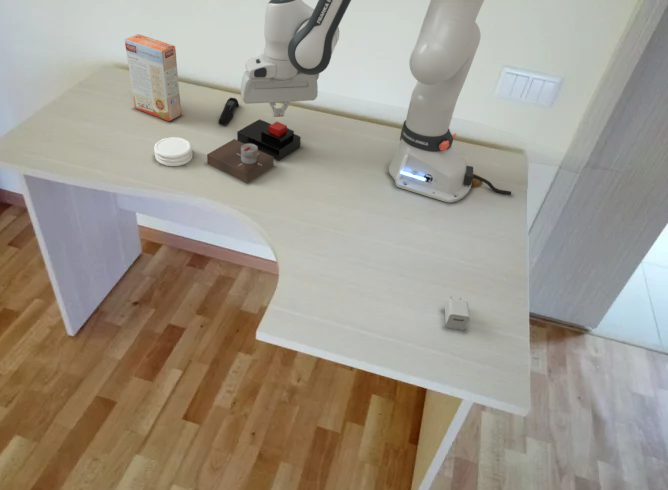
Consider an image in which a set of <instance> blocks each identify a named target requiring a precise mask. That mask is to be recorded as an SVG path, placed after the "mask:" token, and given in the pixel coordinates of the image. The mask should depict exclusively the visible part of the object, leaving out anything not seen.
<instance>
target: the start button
mask: <svg viewBox="0 0 668 490" xmlns="http://www.w3.org/2000/svg"><path fill="white" fill-rule="evenodd" d="M271 124H272V125H270V126H269V132H270V133H272V134H274V135H276V136H281V135H283V134H284V133H286V132H287V128H288V125H286V124H284V123H281V122H279V121H275V122H273V123H271Z"/></svg>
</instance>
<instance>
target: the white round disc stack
mask: <svg viewBox="0 0 668 490" xmlns="http://www.w3.org/2000/svg"><path fill="white" fill-rule="evenodd" d="M153 150H154V158H155V160H156V161H157V163H159V164H161V165H163V166H167V167H180V166H183V165H186V164H188V163H189V162H191V160H192V159H193V154H194V153H193V145H192V143H191V142H190V141H189V140H187V139H185V138H182V137H177V136H172V137H171V136H170V137H165V138H162V139H160V140H158V141H156V142H155V144H154V146H153Z"/></svg>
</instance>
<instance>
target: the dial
mask: <svg viewBox="0 0 668 490" xmlns="http://www.w3.org/2000/svg"><path fill="white" fill-rule="evenodd" d="M257 160H258V147H257V146H256V145H254V144H244V145H242V146H241V161H242V162H243V163H246V164H253V163H256V162H257Z"/></svg>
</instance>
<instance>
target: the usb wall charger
mask: <svg viewBox="0 0 668 490" xmlns="http://www.w3.org/2000/svg"><path fill="white" fill-rule="evenodd" d="M452 297H453V296H452V295H449V299H448V300H447V302H446V304H445V307H444V321H445V327H446V328H448V329H449V328H450V329H455V330H461V331H464V330H466V328H467V327H468V324H469V322H470V320H471V316H470V306H469V301H467V300H464V299H462V297H460V298H459V299H458V298H452Z"/></svg>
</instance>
